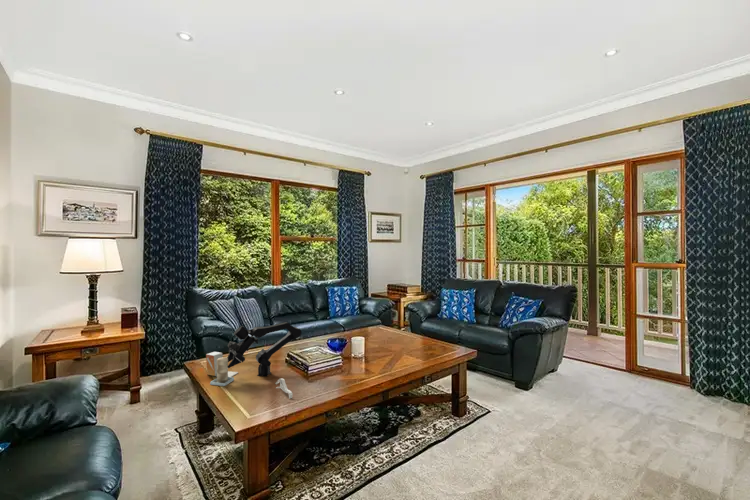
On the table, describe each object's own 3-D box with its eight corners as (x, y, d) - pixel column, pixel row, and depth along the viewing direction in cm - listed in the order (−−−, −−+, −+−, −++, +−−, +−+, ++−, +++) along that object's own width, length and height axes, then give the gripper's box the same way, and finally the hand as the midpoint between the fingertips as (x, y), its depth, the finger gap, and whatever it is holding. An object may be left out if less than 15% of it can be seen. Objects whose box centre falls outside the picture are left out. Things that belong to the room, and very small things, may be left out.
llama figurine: (277, 400, 201) (290, 398, 188) (274, 380, 205) (287, 376, 192) (280, 399, 203) (293, 397, 190) (277, 379, 206) (290, 376, 193)
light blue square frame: (234, 380, 215) (234, 377, 215) (224, 386, 206) (224, 383, 206) (220, 378, 217) (220, 376, 217) (210, 384, 207) (210, 382, 207)
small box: (206, 374, 223) (205, 354, 223) (215, 371, 228) (214, 351, 228) (214, 376, 219) (213, 355, 219) (224, 373, 224) (222, 352, 224)
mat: (238, 373, 226) (238, 372, 226) (229, 378, 218) (229, 377, 218) (225, 371, 228) (225, 371, 228) (216, 377, 219) (216, 376, 219)
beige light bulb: (229, 380, 214) (230, 357, 213) (223, 384, 208) (223, 360, 208) (220, 380, 215) (221, 357, 215) (214, 383, 209) (214, 360, 209)
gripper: (233, 333, 223) (213, 353, 217) (239, 340, 207) (219, 361, 201) (245, 344, 227) (227, 364, 221) (253, 351, 212) (233, 373, 206)
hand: (226, 365), depth 212 cm, fingers open, 9 cm apart
